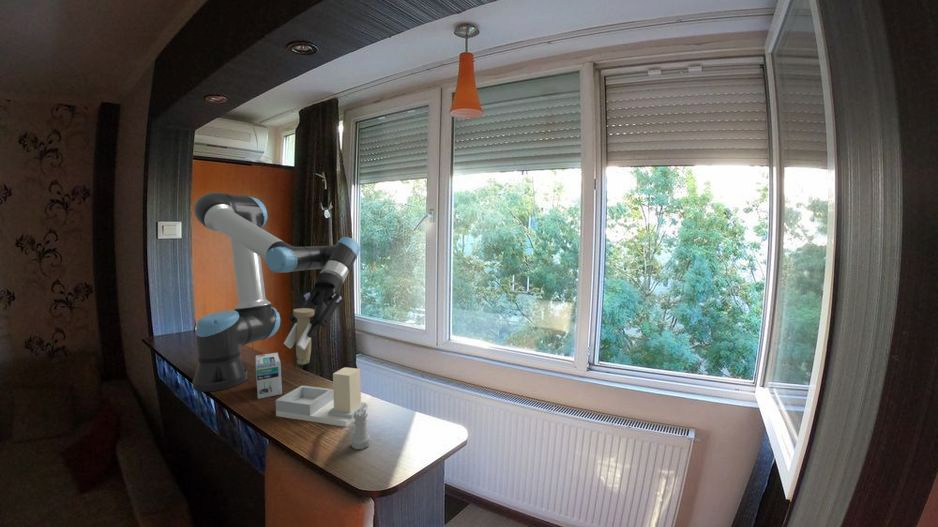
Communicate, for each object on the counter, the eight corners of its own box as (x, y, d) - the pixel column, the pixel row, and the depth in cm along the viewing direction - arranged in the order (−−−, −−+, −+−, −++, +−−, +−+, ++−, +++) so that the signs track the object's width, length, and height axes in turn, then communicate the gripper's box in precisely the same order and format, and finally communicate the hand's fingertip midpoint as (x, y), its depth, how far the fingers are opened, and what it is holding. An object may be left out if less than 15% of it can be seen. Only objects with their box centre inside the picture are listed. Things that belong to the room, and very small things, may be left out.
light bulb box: (282, 394, 110) (281, 360, 109) (257, 399, 106) (255, 364, 105) (279, 382, 119) (278, 351, 118) (256, 387, 115) (254, 355, 114)
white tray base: (276, 416, 96) (274, 371, 95) (302, 400, 106) (300, 359, 105) (348, 427, 90) (347, 379, 90) (369, 409, 100) (368, 366, 99)
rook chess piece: (363, 452, 80) (362, 417, 79) (347, 448, 81) (346, 414, 81) (374, 441, 84) (374, 408, 83) (359, 437, 85) (358, 405, 85)
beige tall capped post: (300, 368, 95) (300, 313, 94) (289, 362, 99) (289, 309, 98) (317, 363, 98) (318, 310, 97) (306, 358, 102) (306, 307, 101)
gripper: (360, 286, 110) (327, 355, 95) (314, 285, 114) (276, 350, 99) (349, 271, 105) (313, 341, 90) (302, 270, 109) (260, 337, 94)
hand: (294, 346), depth 95 cm, fingers closed on beige tall capped post, 4 cm apart
